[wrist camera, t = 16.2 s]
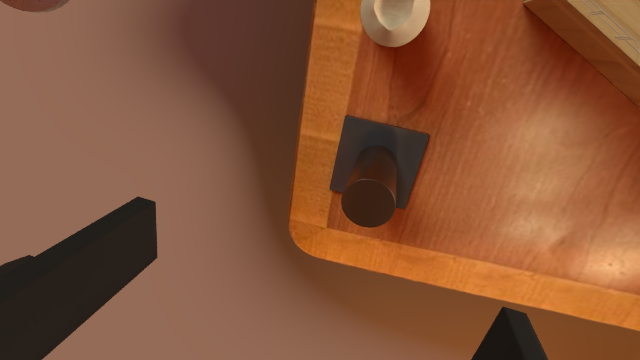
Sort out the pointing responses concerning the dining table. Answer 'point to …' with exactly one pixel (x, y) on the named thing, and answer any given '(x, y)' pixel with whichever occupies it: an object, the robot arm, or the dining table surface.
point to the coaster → (370, 133)
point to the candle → (394, 20)
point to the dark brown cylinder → (371, 188)
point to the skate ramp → (599, 36)
